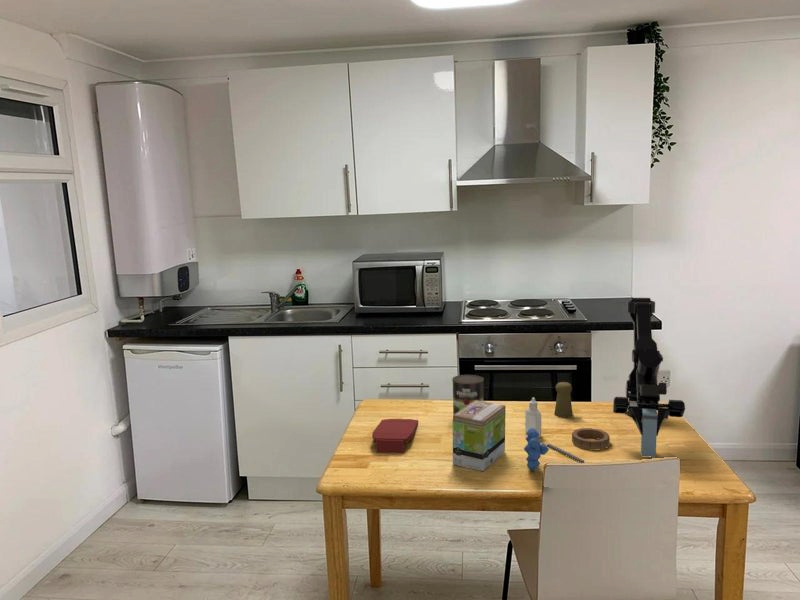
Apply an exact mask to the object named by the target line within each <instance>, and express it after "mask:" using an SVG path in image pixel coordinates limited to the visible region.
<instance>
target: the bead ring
mask: <svg viewBox="0 0 800 600" xmlns="http://www.w3.org/2000/svg"><path fill="white" fill-rule="evenodd" d="M583 437H585V438H583ZM591 437H592V439H586V438H591ZM597 438H598V439H597ZM610 439H611V438H610V434H609V433H608V432H606V431H604V430H601V429H597V428H592V427H581V428H578V429H574V430H573V432H571V442H572V444H573V445H574V446H575V445H576V447H577V446H578V448H580V449H583V448H584V449H583V450H588V449H601V450H603V449H602V448H604V449H607V448H608V447H609V446H610V442H611V441H610ZM608 445H609V446H608ZM606 447H607V448H606Z"/></svg>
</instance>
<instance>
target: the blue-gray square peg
mask: <svg viewBox="0 0 800 600" xmlns="http://www.w3.org/2000/svg"><path fill="white" fill-rule="evenodd" d="M657 414H658V410H656V409H642V419H641V421H642V427H643V434H642V435H641V434H640V435H641V439H640V441H641V442H640V453H641V454H642V455H641V454H640V455H641V457H642V456H651V458H650V459H653V458H652V457H656V458H657V456H656V455H657V437H658V436H657V417H658V416H657Z"/></svg>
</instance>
